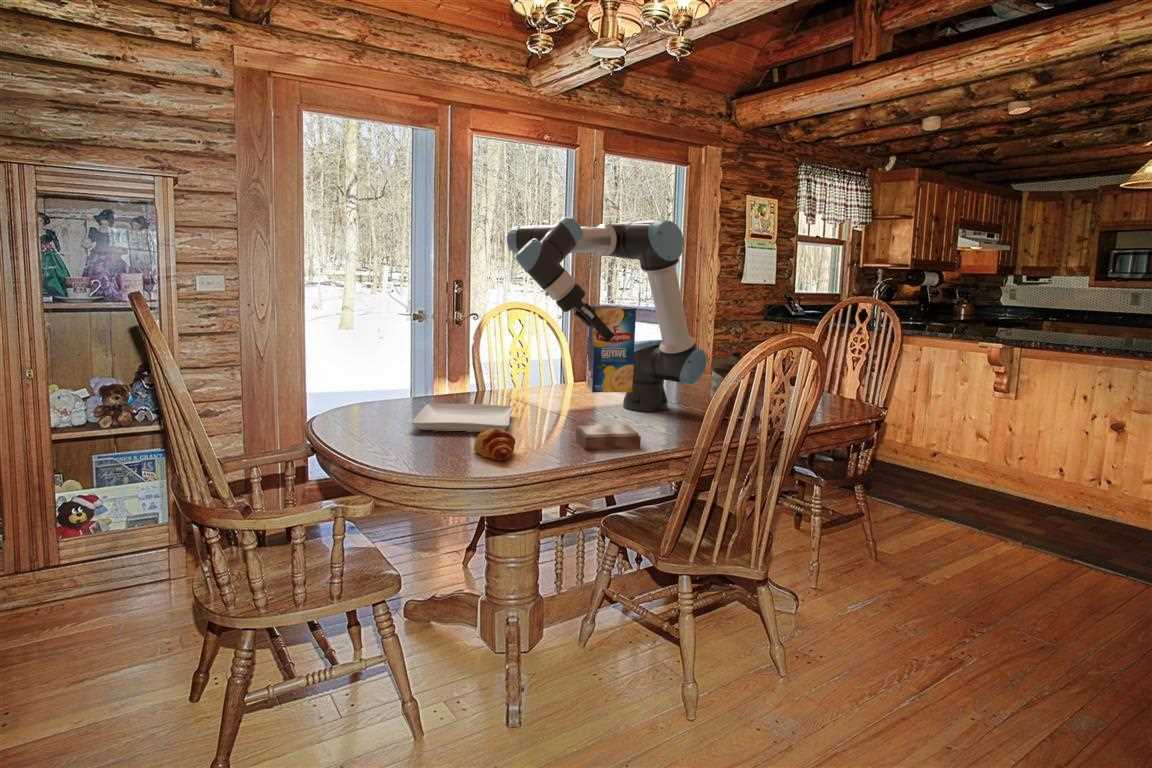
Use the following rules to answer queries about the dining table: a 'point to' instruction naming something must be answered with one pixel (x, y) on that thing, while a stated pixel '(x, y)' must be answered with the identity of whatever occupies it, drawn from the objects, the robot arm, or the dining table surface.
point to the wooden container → (719, 372)
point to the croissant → (495, 444)
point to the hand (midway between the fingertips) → (624, 356)
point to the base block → (608, 437)
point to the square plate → (463, 417)
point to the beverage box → (612, 351)
